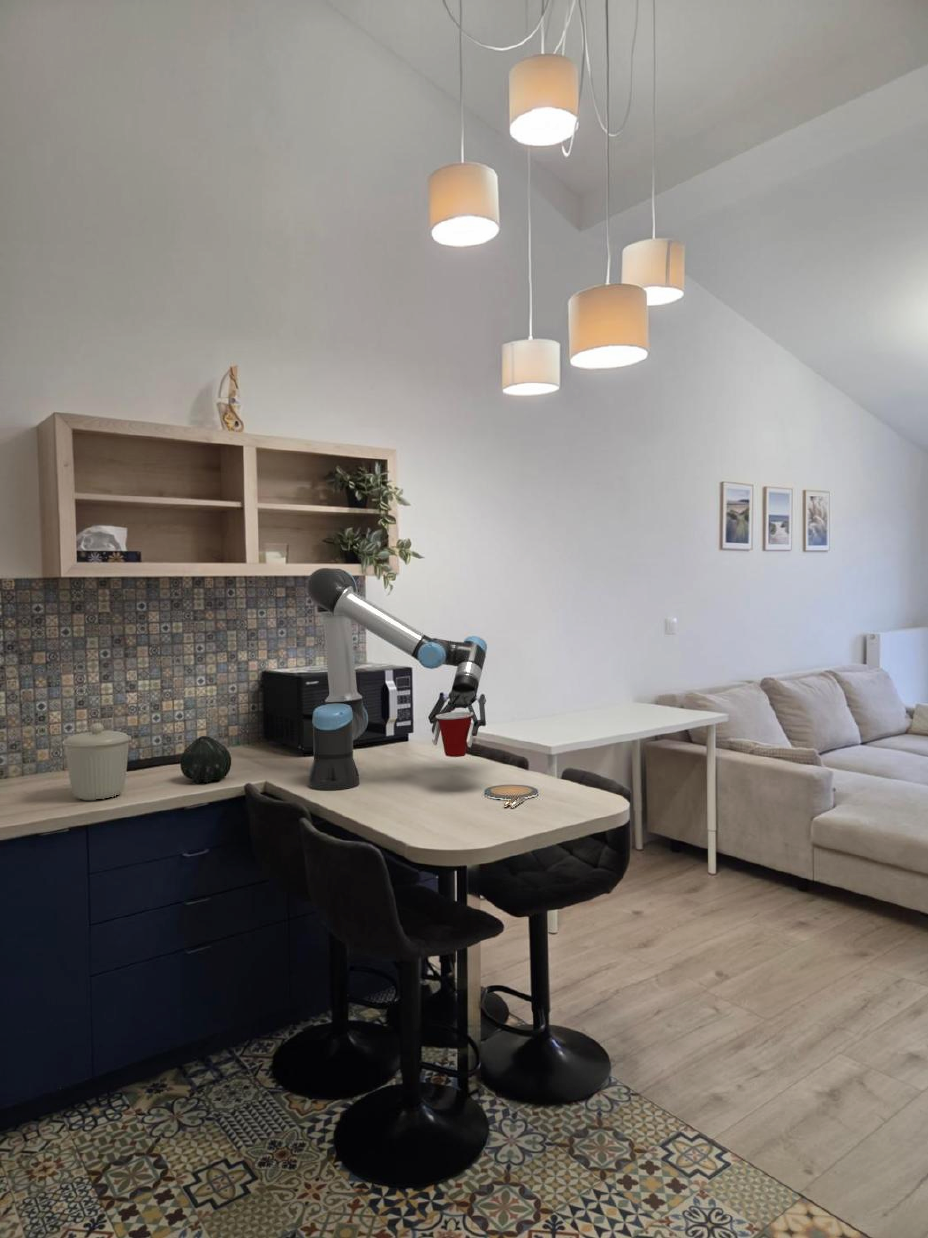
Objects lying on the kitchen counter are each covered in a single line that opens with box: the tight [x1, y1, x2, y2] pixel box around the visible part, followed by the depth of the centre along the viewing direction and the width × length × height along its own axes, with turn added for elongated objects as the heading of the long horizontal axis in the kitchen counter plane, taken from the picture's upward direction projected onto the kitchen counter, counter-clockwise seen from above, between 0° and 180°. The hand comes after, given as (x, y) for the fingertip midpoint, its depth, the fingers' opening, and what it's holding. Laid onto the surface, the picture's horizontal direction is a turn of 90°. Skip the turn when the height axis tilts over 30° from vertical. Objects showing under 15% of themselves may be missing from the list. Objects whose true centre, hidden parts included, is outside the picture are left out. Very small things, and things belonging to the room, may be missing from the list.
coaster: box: [483, 784, 539, 799], centre depth 237 cm, size 15×15×1 cm
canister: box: [61, 722, 132, 801], centre depth 242 cm, size 18×18×21 cm
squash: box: [180, 735, 232, 783], centre depth 261 cm, size 14×15×15 cm
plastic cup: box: [436, 711, 473, 758], centre depth 241 cm, size 11×11×12 cm
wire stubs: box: [503, 796, 525, 807], centre depth 226 cm, size 9×3×1 cm, turn 156°
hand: (451, 743), depth 238 cm, fingers closed on plastic cup, 9 cm apart
